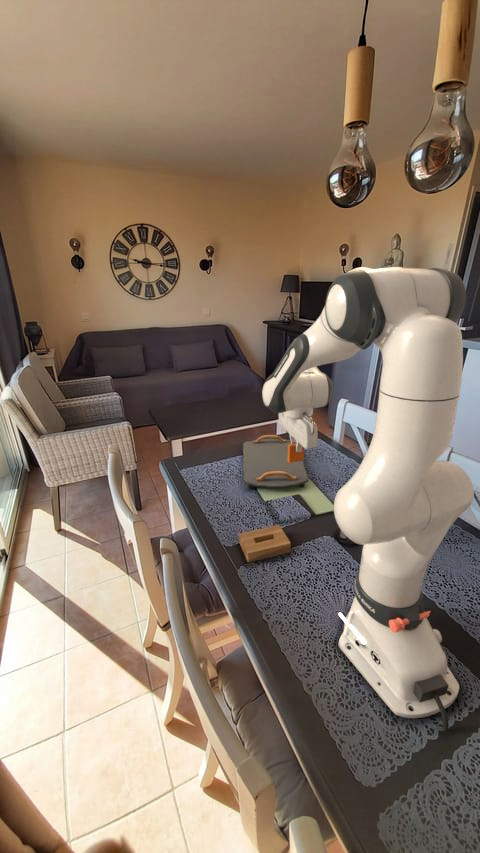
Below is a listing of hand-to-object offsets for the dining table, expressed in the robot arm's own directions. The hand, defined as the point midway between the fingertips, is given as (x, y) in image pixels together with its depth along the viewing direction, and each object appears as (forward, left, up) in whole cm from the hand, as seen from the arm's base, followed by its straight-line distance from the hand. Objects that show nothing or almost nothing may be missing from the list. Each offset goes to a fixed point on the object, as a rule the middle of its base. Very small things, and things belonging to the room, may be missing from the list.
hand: (296, 449), depth 112 cm
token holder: (-19, +18, -19) cm, 32 cm away
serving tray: (+23, -1, -19) cm, 30 cm away
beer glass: (-22, -6, -19) cm, 30 cm away
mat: (0, 0, -19) cm, 19 cm away
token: (0, 0, -4) cm, 4 cm away
